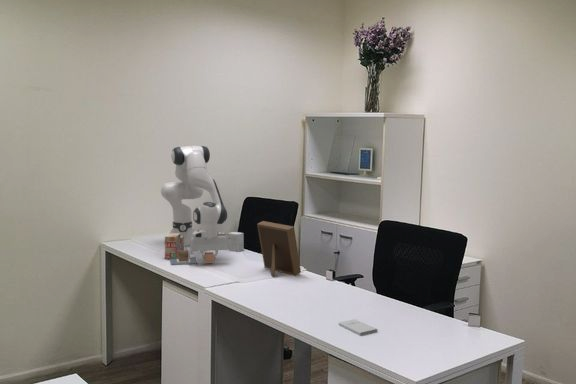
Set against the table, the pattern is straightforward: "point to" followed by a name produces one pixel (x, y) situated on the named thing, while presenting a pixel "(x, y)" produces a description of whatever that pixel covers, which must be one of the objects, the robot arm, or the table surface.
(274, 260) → the photo frame
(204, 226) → the robot arm
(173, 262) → the grey flat square plate
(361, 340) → the table surface
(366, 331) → the external hard drive
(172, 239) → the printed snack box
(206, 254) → the terracotta block
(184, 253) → the walnut block
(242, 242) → the small box
